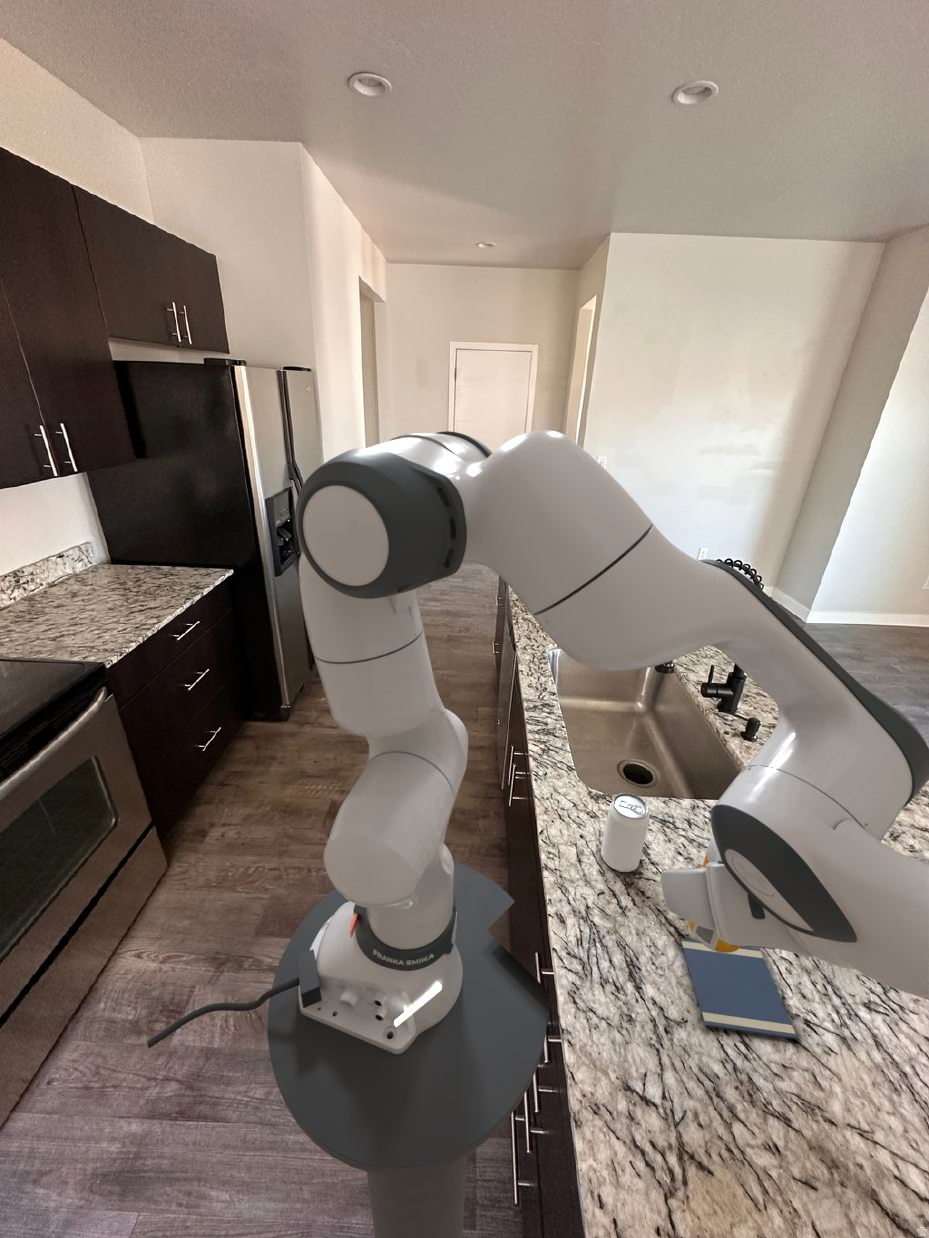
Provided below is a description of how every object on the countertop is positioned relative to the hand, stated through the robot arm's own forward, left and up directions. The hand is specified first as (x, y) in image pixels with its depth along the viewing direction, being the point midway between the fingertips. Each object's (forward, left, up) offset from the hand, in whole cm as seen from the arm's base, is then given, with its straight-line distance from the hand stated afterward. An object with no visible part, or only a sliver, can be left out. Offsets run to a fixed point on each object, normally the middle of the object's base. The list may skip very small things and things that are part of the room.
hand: (725, 879), depth 57 cm
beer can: (0, -1, -9) cm, 9 cm away
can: (-5, +21, -22) cm, 30 cm away
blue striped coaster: (+7, +2, -22) cm, 23 cm away
